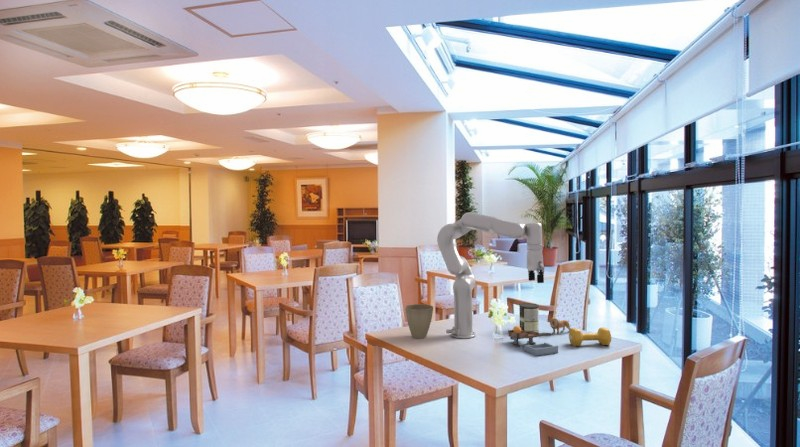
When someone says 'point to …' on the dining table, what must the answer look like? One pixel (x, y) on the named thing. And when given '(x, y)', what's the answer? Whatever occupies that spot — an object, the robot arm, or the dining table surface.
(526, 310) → the coffee can
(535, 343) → the lever stand
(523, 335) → the brown tilting tray
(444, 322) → the dining table surface
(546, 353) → the tray
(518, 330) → the ball
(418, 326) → the plant pot
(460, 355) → the dining table surface
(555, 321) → the lion figurine
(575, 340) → the dumbbell
